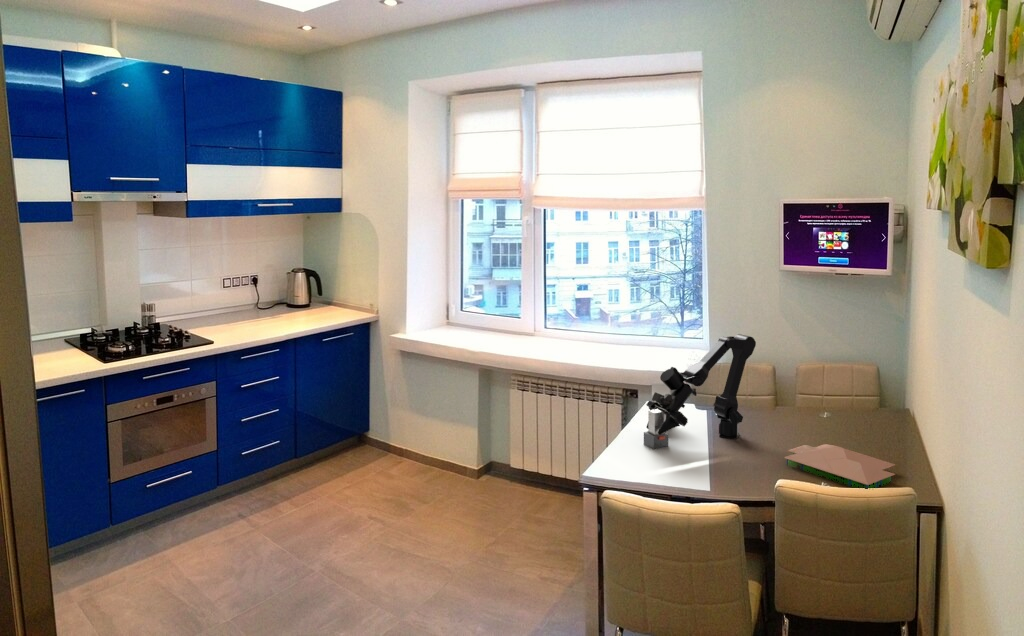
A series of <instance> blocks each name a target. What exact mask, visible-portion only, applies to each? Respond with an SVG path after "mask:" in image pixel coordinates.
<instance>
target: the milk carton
mask: <svg viewBox="0 0 1024 636" xmlns="http://www.w3.org/2000/svg"><path fill="white" fill-rule="evenodd" d="M655 392H656V393H658V394H661V395H665V394H670V395H671V390H670V389H669V388H668V387H667V386H666V385H665V384H664V383H663V382H651V399H652V398H653V395H654V393H655ZM655 402H656V401H655ZM657 403H658V402H657ZM658 404H659V403H658ZM659 405H660V404H659ZM660 406H661V405H660ZM661 407H662V406H661ZM665 420H666V415H665V414H664V422H665Z"/></svg>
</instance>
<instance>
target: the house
mask: <svg viewBox="0 0 1024 636" xmlns="http://www.w3.org/2000/svg"><path fill="white" fill-rule="evenodd" d="M786 451H787V452H790V453H791V454H790V455H786V456H785V457H783V458H784V459H786V466H787V467H790V466H791V468H792V467H793V469H795V468H794V467H795V466H796V463H797V464H800V465H801V468H802V469H803V472H805V471H806V473H807V472H809V471H811V472H814V473H816V476H821V475H824V472H825V476H827V479H829V478H833V479H835V480H834V482H838V481H841V483H843V482H844V484H843V485H845V484H846V483H847V485H848V486H849V488H851V487H852V488H853V487H854V486H856V487H858V486H859V484H861V485H860V488H863V487H864V486H863V485H865V489H866V488H867V489H868V488H869V489H871V488H872V489H873V488H874V487H875V488H876V486H877V488H880V487H879V485H881V486H882V485H883V484H884V485H885V484H886V483H887V484H888V483H889V482H890V481H891V482H892V477H893V476H895V475H896V473H893V472H889V471H887V470H886V469H889V468H891V467H894V466H895V467H896V464H895V463H892V462H889V461H885V460H882V459H880V458H877V457H873V456H869V455H868V454H867V455H866V454H863V453H861V452H856V451H853V450H850V449H847V448H844V447H841V446H838V445H832V444H827V443H824V444H821V445H818V446H814V447H813V446H812V445H808V444H803V445H801V446H797V447H794V448H791V449H787V450H786ZM808 467H809V469H808ZM807 470H808V471H807ZM816 470H817V471H816ZM818 470H819V471H818ZM821 471H822V472H821ZM809 473H810V472H809ZM818 474H819V475H818ZM830 474H831V475H830ZM833 475H834V476H835V477H834V476H833ZM836 476H837V477H836ZM839 477H840V478H839ZM841 477H842V479H841ZM843 478H844V480H843ZM836 479H837V481H836ZM845 479H846V480H845ZM829 480H830V479H829ZM838 483H839V482H838ZM873 483H874V485H873ZM854 484H855V485H854ZM851 485H852V486H851ZM869 485H870V486H869Z"/></svg>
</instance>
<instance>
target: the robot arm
mask: <svg viewBox="0 0 1024 636" xmlns="http://www.w3.org/2000/svg"><path fill="white" fill-rule="evenodd" d="M756 344H757V342H756V340H755V338H754V337H752V336H749V335H745V334H741V333H739V334H736V335H735V336H721V337H719V338H718V341H717V342H716V343H715V344H714V345H713V346H712V347H711V348H710V349H709V351H708V352H706V354H705V355H704V356H703V357H702V359H700V360H699V361H698V362H695V363H694V364H692V365H690V366H689V367H688V368H686V369H685V370H684V371H682V372H679V370H678V369H677V368H676V367H674V366H670V368H668V369H665V370H664V371H662V373H661V374H660V381H661V383H664V384H665V385H666V386H667V387H668V388H669V389H670V391H672V392H670V394H665V395H661V394H658V393H656V392H655V393H654V395H653V398H652V397H651V400H649V401H648V402H647V403H646V407H648V410H655V409H659V410H661V411H663V412H664V414H665V415H666V420H665V422H664V423H663V425H662V426H661V428H660V429H659V431H658V434H662V433H664V432H665V433H666V432H667V431H670V430H672V429H675V428H677V427H680V426H682V427H685V426H686V425H687V424H688V420H689V419H688V418H687V416H685V415H684V414H683V412H681V411H680V410H681V409H684V408H685V407H686V405H685V403H686V402H687V400H688V399H689V397H690V396H694V397H697V389H696V388H695V387H701V386H702V385H704V383H705V381H706V380H707V379H708V377H709V373H710V371H711V369H713V368H714V366H715V365H716V364H718V362H719V361H720V360H721V359H722V358H723V357H724V356H725V354H726V353H727V352H728V351H729V350H730V349H731V353H732V359H731V363H730V368H729V371H728V374H727V378H726V381H725V385H724V388H723V392H722V394H720V395H716V397H715V400H714V403H713V405H712V406H713V411H714V413H715V414H716V416H717V419H720V422H719V423H718V434H719V437H720V438H726V439H736V440H737V439H738V437H739V436H740V432H739V424H740V423H742V422H743V419H744V416H743V415H742V414H741V413H740V412H739V411H738V410H739V408H738V407H739V402H738V398H737V395H738V392H739V388H740V384H741V381H742V378H743V373H744V370H745V366H746V364H747V360H748V359H749V358H750V357H751V356H752V355H753V353H754V352H755V351H754V350H755V348H756V347H757V345H756ZM691 385H692V386H695V387H692V386H691ZM655 401H656V402H655ZM657 402H658V403H659V404H660V405H661V406H662V407H661V406H660V405H659V404H658V403H657ZM646 429H647V430H648V423H647V424H646Z"/></svg>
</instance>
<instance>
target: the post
mask: <svg viewBox="0 0 1024 636" xmlns="http://www.w3.org/2000/svg"><path fill="white" fill-rule="evenodd" d="M647 420H648V422H647V424H648V429H647V431H648V433H649V434H651V435H653V436H658V435H663V434H664V433H662V434H658V431H659V429H660V428H661V426H662V425H663V423H664V412H663V411H661V410H659V409H655V410H650V409H648V419H647Z"/></svg>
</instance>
